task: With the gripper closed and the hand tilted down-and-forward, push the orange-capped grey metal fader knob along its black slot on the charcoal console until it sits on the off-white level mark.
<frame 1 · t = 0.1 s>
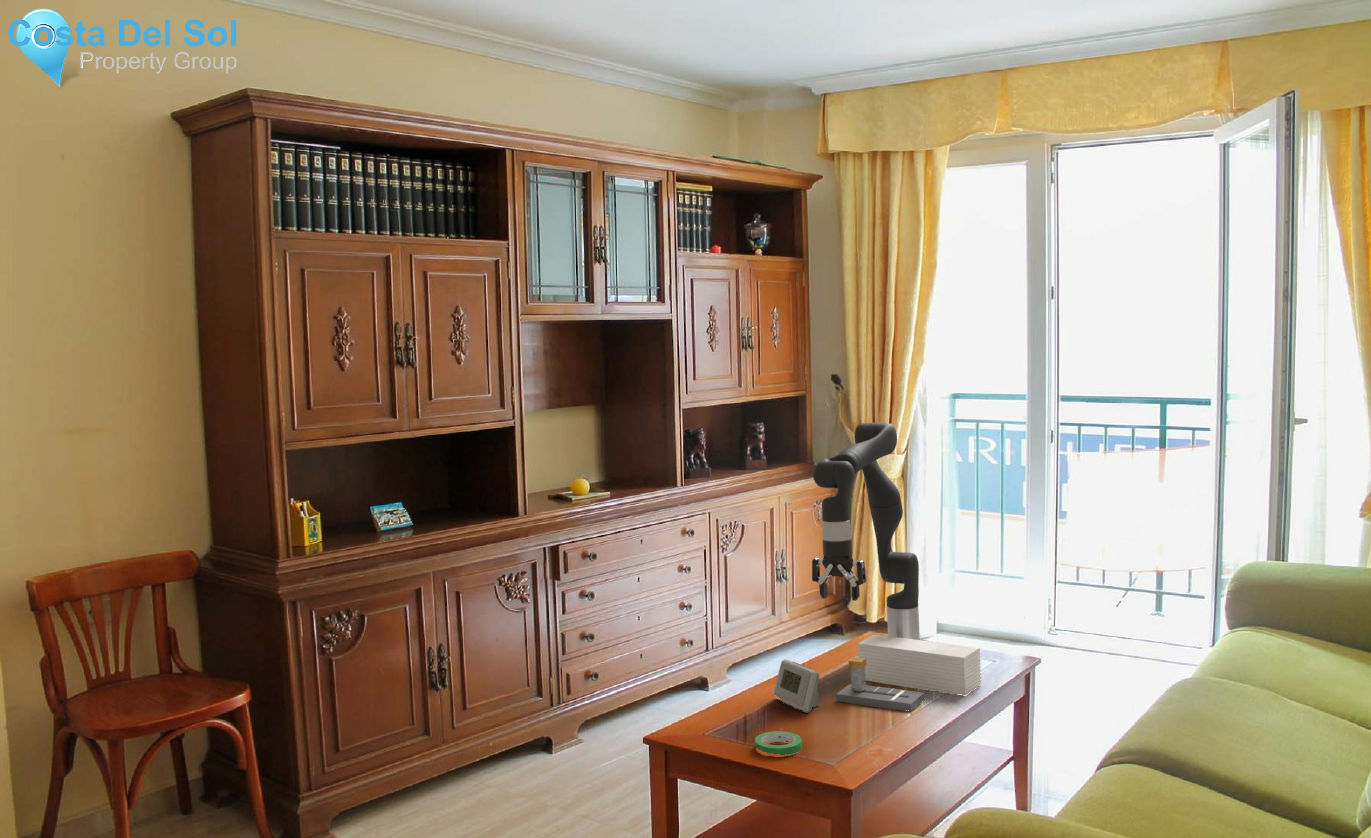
hand: (839, 599, 275), 29 cm above the table, tool pointing down, fingers open, 8 cm apart
fader: (858, 674, 284), point 6 cm above the table, slide at -6.0 cm
tape roll: (778, 751, 251), on the table
console: (880, 700, 282), on the table
stack of papers: (918, 684, 295), on the table
digital clock: (796, 705, 282), on the table
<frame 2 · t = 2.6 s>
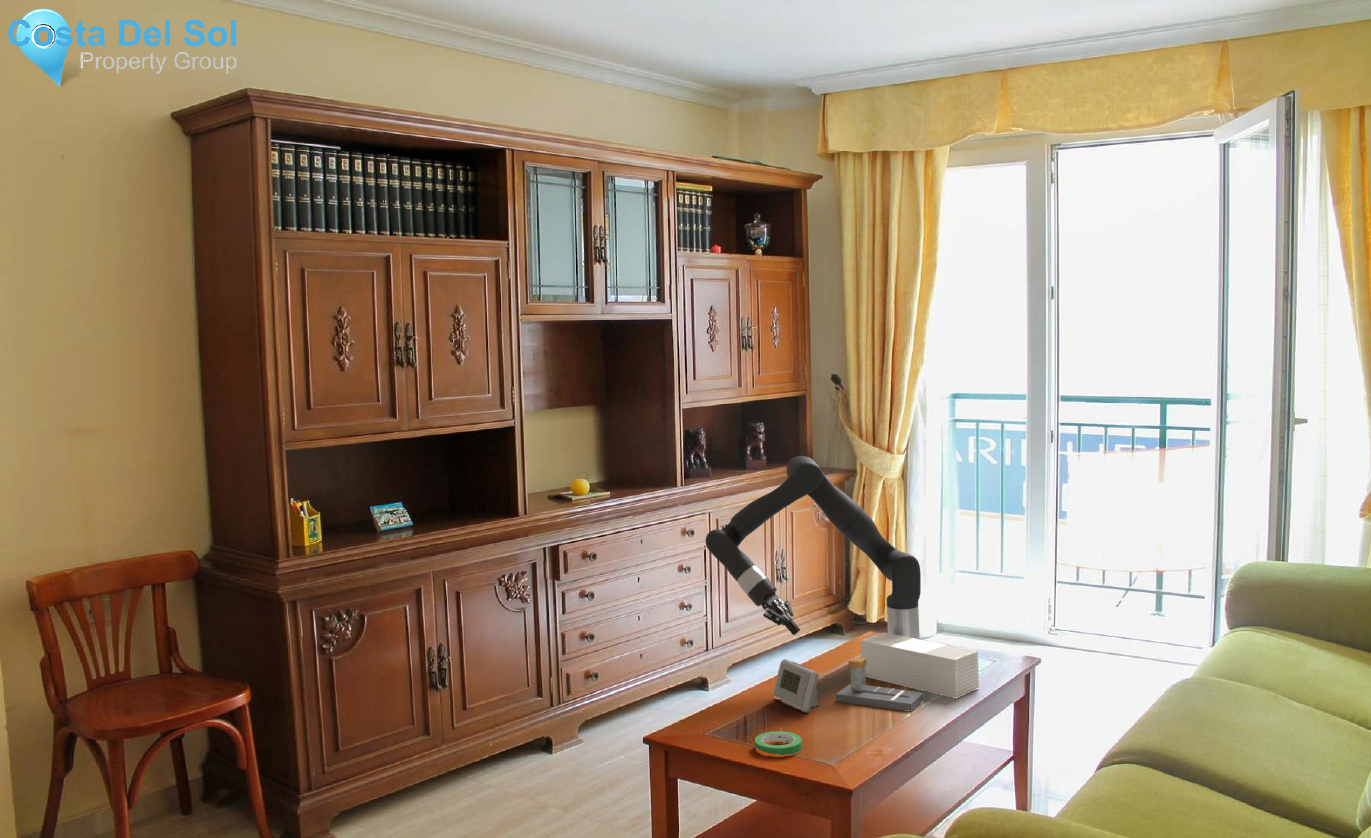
hand: (797, 632, 293), 16 cm above the table, tool tilted 45°, fingers closed
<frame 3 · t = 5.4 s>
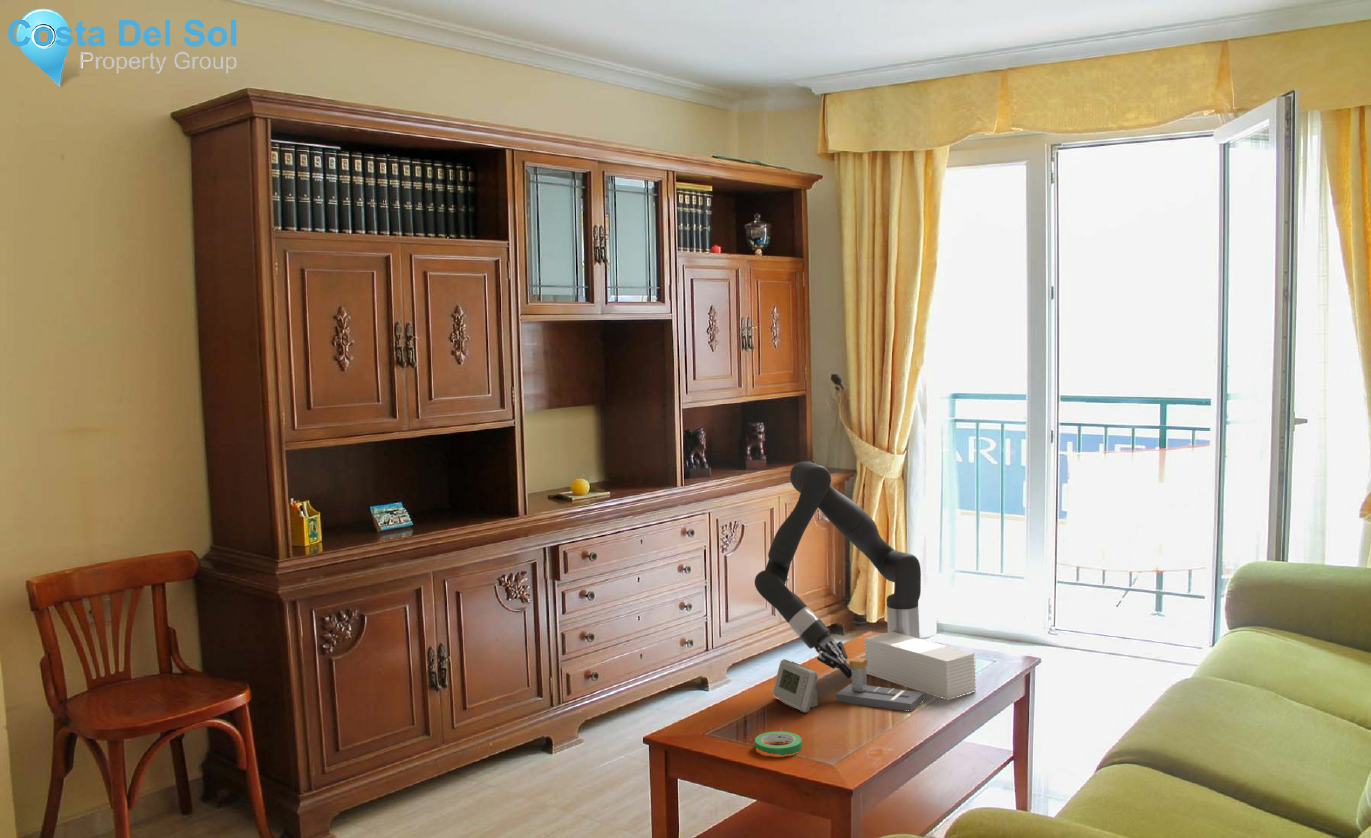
hand: (852, 675, 285), 6 cm above the table, tool tilted 45°, fingers closed
fader: (859, 674, 284), point 6 cm above the table, slide at -5.7 cm, touching gripper
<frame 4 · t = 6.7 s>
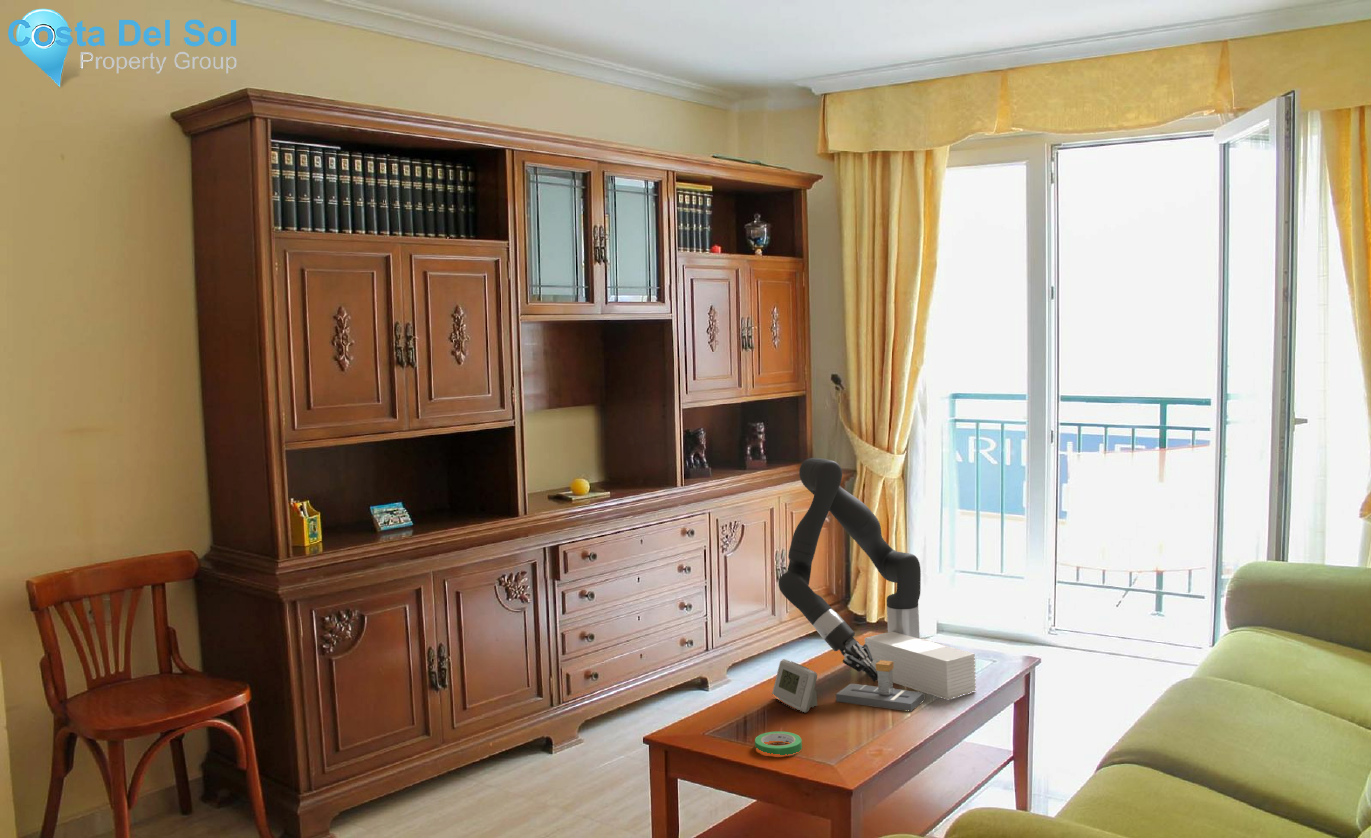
hand: (878, 679, 281), 6 cm above the table, tool tilted 45°, fingers closed
fader: (885, 677, 280), point 6 cm above the table, slide at 1.7 cm, touching gripper
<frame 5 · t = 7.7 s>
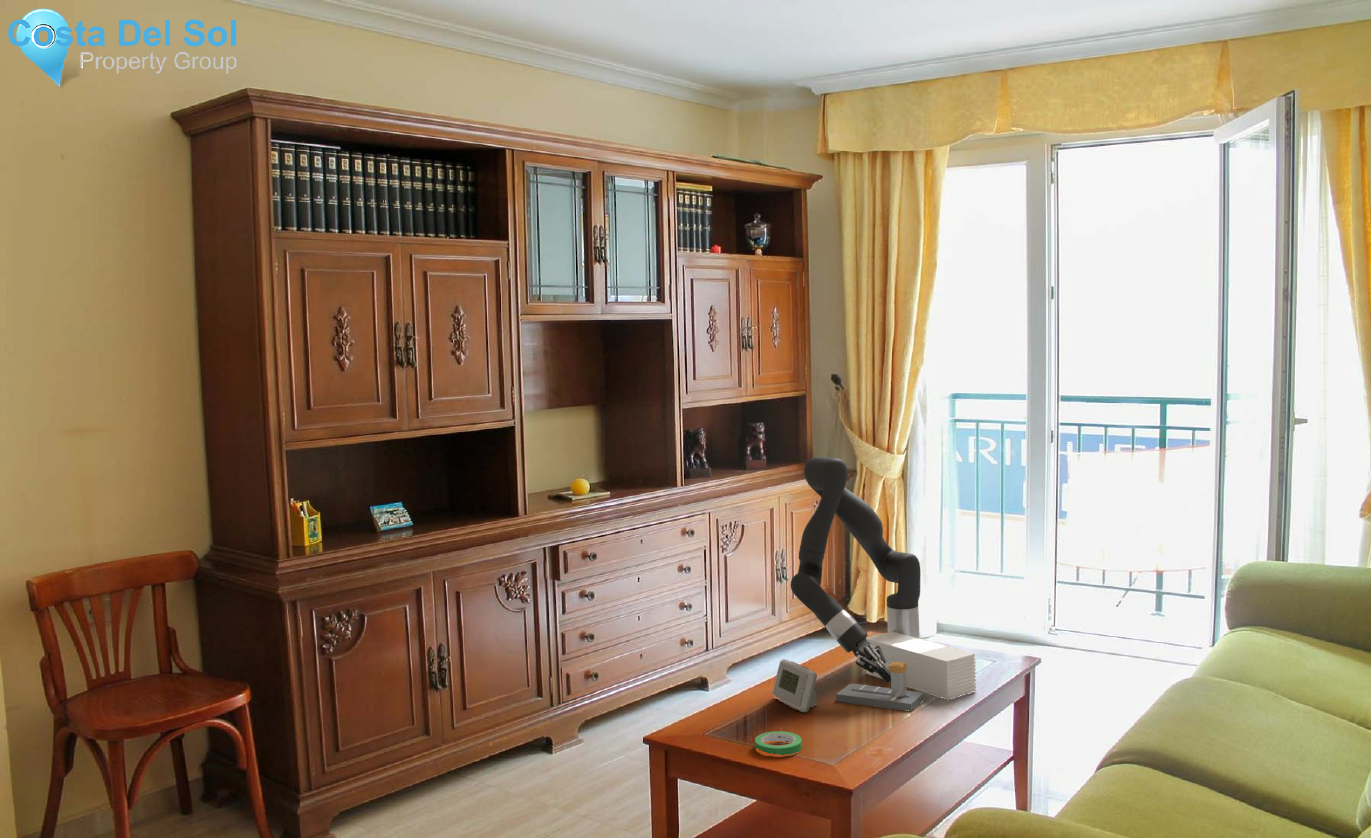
hand: (891, 680, 280), 6 cm above the table, tool tilted 45°, fingers closed
fader: (898, 679, 278), point 6 cm above the table, slide at 5.4 cm, touching gripper
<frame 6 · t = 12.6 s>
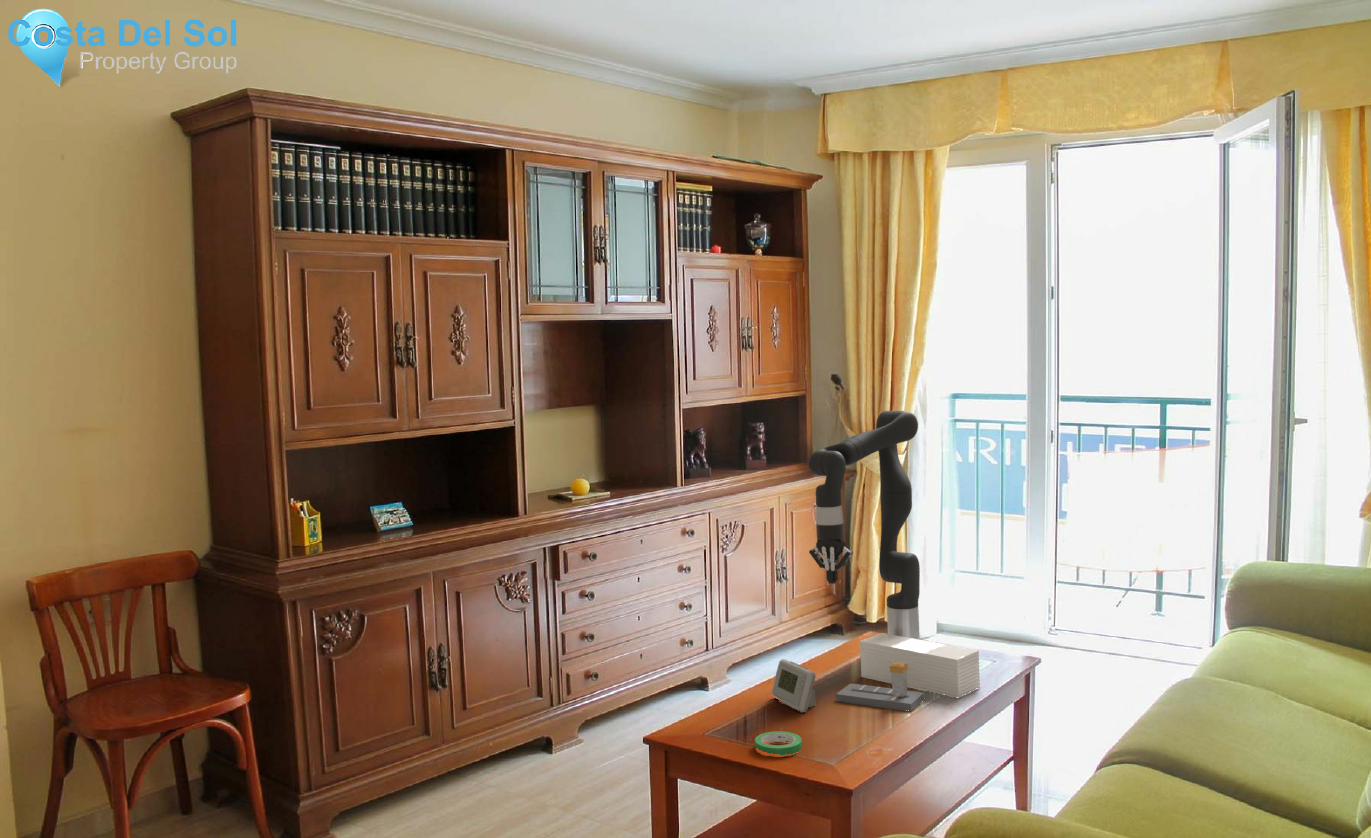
hand: (832, 583, 295), 29 cm above the table, tool pointing down, fingers closed
fader: (899, 679, 278), point 6 cm above the table, slide at 5.6 cm
at the end: fader slide at 5.6 cm; fader touching nothing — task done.
